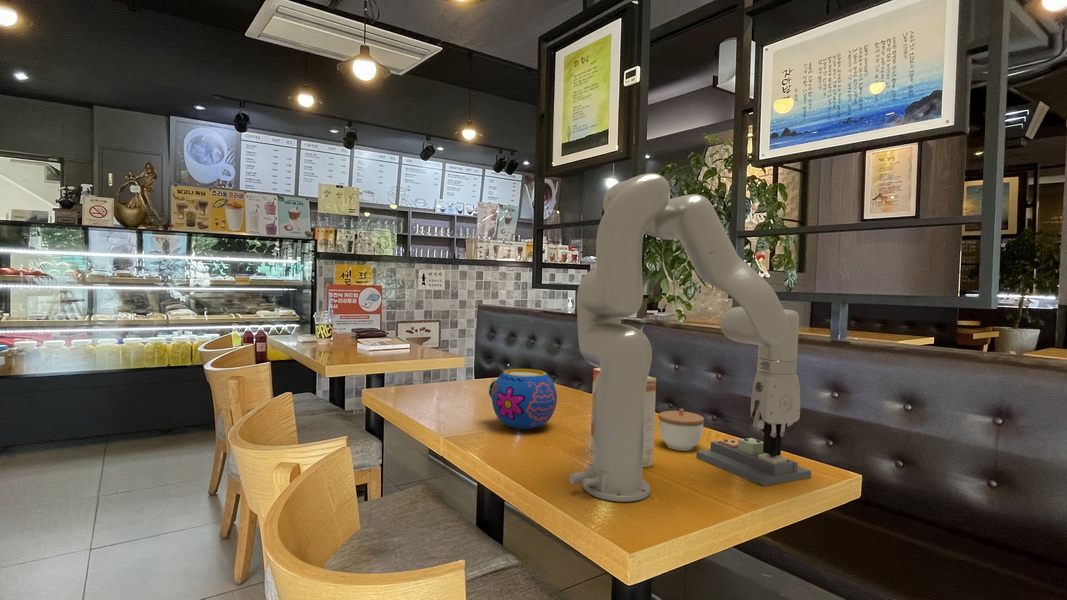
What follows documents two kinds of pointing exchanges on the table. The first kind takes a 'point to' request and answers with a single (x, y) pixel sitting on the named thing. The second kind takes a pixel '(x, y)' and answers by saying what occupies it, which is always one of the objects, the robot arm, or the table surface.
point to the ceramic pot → (523, 398)
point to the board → (752, 465)
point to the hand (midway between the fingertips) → (771, 453)
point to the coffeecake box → (647, 423)
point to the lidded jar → (680, 429)
